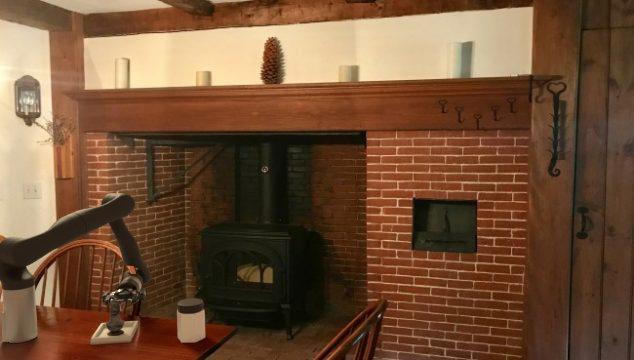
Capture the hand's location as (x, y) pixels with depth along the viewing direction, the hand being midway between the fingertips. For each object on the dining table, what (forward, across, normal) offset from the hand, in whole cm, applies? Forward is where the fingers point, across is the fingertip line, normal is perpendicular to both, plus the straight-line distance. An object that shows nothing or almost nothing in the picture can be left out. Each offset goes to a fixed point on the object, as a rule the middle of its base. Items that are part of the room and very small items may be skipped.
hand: (120, 302), depth 181 cm
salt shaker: (+8, 0, +8) cm, 12 cm away
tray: (+8, 0, +8) cm, 12 cm away
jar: (+15, +25, +9) cm, 31 cm away
